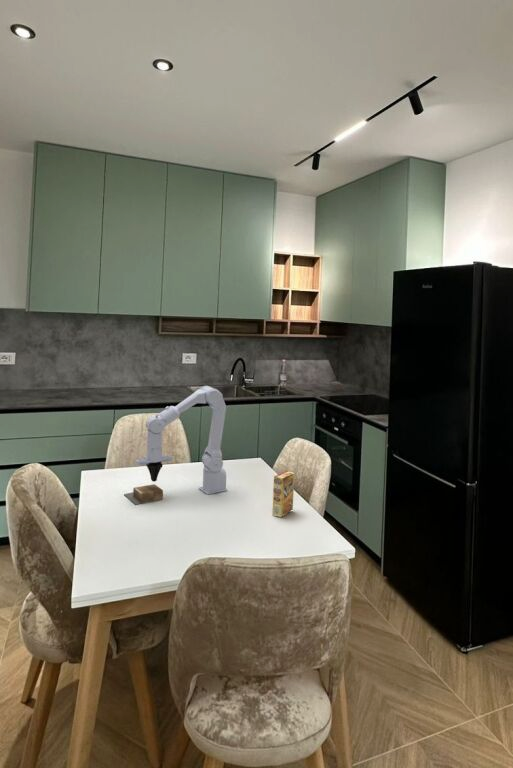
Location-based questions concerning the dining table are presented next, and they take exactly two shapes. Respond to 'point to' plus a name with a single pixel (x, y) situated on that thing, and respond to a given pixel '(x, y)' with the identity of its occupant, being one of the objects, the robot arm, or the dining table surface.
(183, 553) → the dining table surface
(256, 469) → the dining table surface
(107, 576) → the dining table surface
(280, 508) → the candy box
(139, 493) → the walnut slab
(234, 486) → the dining table surface
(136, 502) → the rubber mat
